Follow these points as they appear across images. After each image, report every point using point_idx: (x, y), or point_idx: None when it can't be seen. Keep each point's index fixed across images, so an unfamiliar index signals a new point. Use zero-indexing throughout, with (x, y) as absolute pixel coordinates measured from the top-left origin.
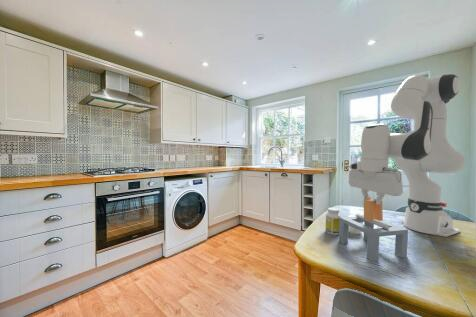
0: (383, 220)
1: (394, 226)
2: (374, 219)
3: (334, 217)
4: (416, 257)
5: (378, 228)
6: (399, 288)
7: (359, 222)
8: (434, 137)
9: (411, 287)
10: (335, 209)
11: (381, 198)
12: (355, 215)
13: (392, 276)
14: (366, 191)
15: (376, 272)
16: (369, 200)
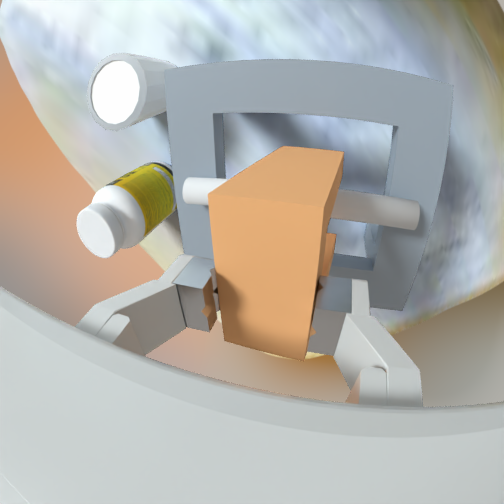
0: (278, 61)
1: (395, 108)
2: (248, 107)
3: (141, 235)
4: (418, 54)
5: (382, 241)
6: (471, 287)
7: (155, 90)
8: None
9: (485, 261)
10: (100, 231)
11: (383, 343)
12: (96, 73)
13: (449, 259)
14: (139, 349)
15: (420, 279)
16: (276, 341)
